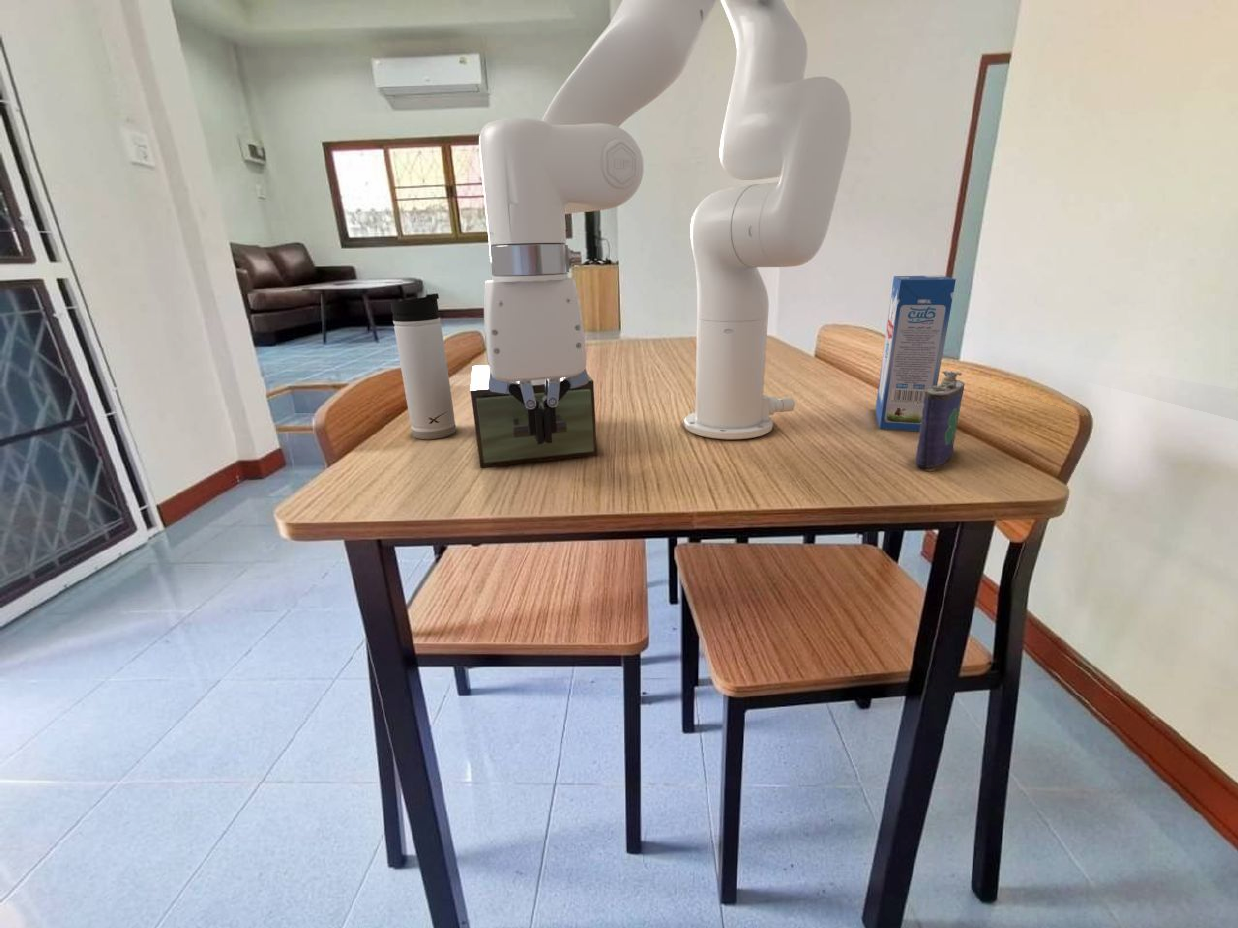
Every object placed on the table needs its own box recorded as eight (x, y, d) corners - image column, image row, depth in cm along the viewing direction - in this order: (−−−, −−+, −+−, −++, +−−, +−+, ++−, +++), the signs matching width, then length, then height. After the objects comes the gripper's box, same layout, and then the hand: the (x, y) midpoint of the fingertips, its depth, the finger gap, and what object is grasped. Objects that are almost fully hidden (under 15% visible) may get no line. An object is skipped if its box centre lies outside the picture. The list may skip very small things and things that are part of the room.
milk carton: (875, 410, 88) (893, 276, 80) (919, 413, 86) (942, 275, 78) (879, 428, 79) (900, 279, 72) (929, 432, 77) (956, 279, 70)
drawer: (601, 464, 66) (598, 400, 64) (484, 477, 64) (475, 410, 61) (576, 420, 84) (573, 368, 81) (484, 429, 82) (477, 375, 79)
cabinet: (597, 455, 72) (593, 380, 69) (480, 467, 69) (470, 390, 66) (578, 422, 87) (574, 359, 83) (480, 431, 84) (472, 366, 80)
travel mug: (445, 440, 80) (424, 295, 73) (404, 439, 81) (378, 296, 74) (465, 427, 86) (447, 292, 79) (426, 426, 87) (404, 293, 80)
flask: (932, 447, 71) (947, 363, 67) (958, 451, 69) (975, 365, 65) (909, 468, 65) (924, 376, 61) (937, 473, 63) (955, 380, 59)
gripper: (595, 262, 61) (601, 424, 67) (452, 267, 57) (473, 437, 64) (611, 263, 54) (616, 443, 60) (451, 268, 51) (474, 458, 57)
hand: (543, 439), depth 62 cm, fingers closed
